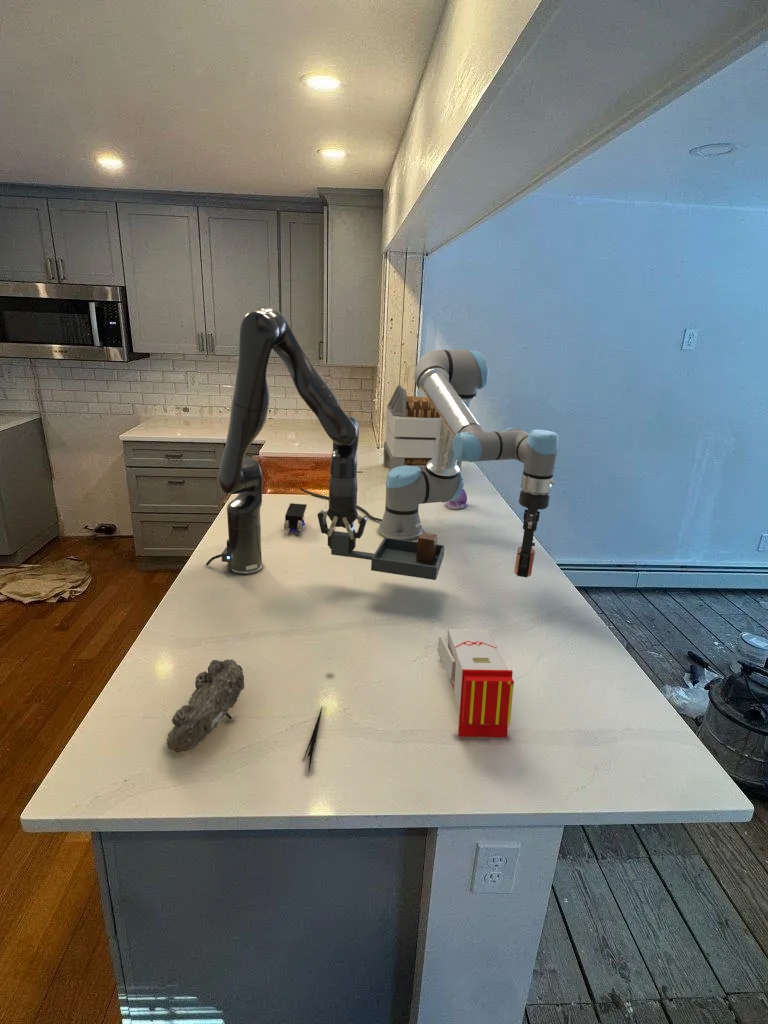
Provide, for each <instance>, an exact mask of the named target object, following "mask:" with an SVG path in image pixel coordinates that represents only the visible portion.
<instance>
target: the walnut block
mask: <svg viewBox="0 0 768 1024" xmlns="http://www.w3.org/2000/svg"><path fill="white" fill-rule="evenodd" d="M417 542H418V543H417V556H416V561H418V562H424V563H430V564H432V563H433V561H434V559H435V557H436V546H437V544H438V534H437V533H431V532H424V531H422V532H421V534H420V535H419V537H418V538H417Z"/></svg>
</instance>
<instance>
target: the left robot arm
mask: <svg viewBox="0 0 768 1024" xmlns="http://www.w3.org/2000/svg"><path fill="white" fill-rule="evenodd" d="M294 334H295V333H294V332H293V331H292V328H291V327H290V325H289V324H288V321H287V320H286V318H285V316H283V314H282V313H281V312H280V311H279V310H278V309H276V308H274V307H272V306H262V307H259V308H257V309H254V310H251V311H249V312H248V313H247V314H245V316H244V317H243V318H242V320H241V323H240V327H239V344H238V365H237V371H236V376H235V383H234V389H233V395H232V401H231V408H230V415H229V423H228V429H227V435H226V442H225V444H224V445H225V446H224V449H223V453H222V455H221V456H222V457H221V461H220V464H219V470H218V483H219V486H220V488H221V490H222V492H224V493H225V494H228V495H237V496H236V497H235V498H233V499H232V500H231V501H229V503H228V504H227V506H226V515H227V517H226V518H227V533H228V538H227V540H226V547H225V548H224V549H223V551H222V552H221V553H220V554H216V555H214V556H213V557H211V558H209V560H208V561H207V562H206V563H205V566H209V565H210V564H211V563H212V562H213V561H215V560H216V559H218V558H221V562H222V563H227V571H228V572H232V573H234V574H238V575H250V574H255V573H257V572H259V571H261V570H262V568H263V558H262V531H261V530H262V529H261V528H262V527H261V507H262V505H263V471H262V468H261V465H260V463H259V462H258V460H257V459H255V458H253V457H245V456H246V454H247V451H248V450H249V449H250V446H251V445H252V443H253V442H254V441H255V440H256V439H257V437H258V435H259V434H260V433H261V431H262V430H263V428H264V427H265V425H266V421H267V417H268V412H269V405H270V390H269V386H268V380H267V370H268V366H269V365H268V364H269V361H270V356H271V352H272V351H273V352H275V354H277V356H278V357H279V358H280V359H281V361H282V362H283V364H284V366H285V368H286V370H287V372H288V373H289V376H290V378H291V381H292V383H293V385H294V387H295V389H296V391H297V393H298V395H299V397H300V398H301V399H302V401H304V403H305V405H307V407H308V408H309V409H310V410H311V412H312V413H313V414H314V415H315V417H316V418H317V419H318V421H319V423H320V425H321V427H322V428H323V430H324V431H325V433H326V435H327V436H328V438H330V440H331V441H332V453H331V457H330V463H329V465H330V466H329V467H330V469H329V470H330V472H329V480H328V481H329V482H328V497H329V499H328V508H327V510H323V509H322V510H320V511H319V512H318V513H317V519H318V524H319V529H320V533H321V534H325V535H326V536H327V546H328V547H329V549H330V550H331V540H332V534H333V533H334V531H336V529H337V528H343V529H345V530H346V533H349V536H350V539H349V551H350V552H352V551H355V548H356V546H357V545H356V544H357V543H356V542H357V539H361V538H362V536H363V535H364V532H365V528H366V525H367V522H368V516H367V515H364V516H362V515H359V513H358V510H357V509H358V508H357V506H358V503H357V502H358V491H359V489H358V475H357V474H358V455H357V454H358V446H359V437H360V425H359V422H358V421H357V419H356V418H355V417H354V416H352V415H351V414H346V413H345V412H344V410H343V409H342V407H341V406H340V404H339V400H338V398H337V397H336V395H335V393H333V391H332V390H331V388H330V387H329V385H327V383H326V382H325V380H324V379H323V378H322V376H321V375H320V374H319V372H318V371H317V370H316V368H315V367H314V365H313V363H311V361H310V359H309V358H308V357H307V355H306V353H305V351H304V349H303V348H302V347H301V345H300V343H299V341H298V339H297V338H296V336H295V335H294ZM327 518H329V520H330V521H331V523H330V525H329V527H328V522H327ZM356 520H357V524H358V530H357V531H356V526H355V523H354V522H355V521H356Z"/></svg>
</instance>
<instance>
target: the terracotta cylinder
mask: <svg viewBox="0 0 768 1024" xmlns="http://www.w3.org/2000/svg"><path fill="white" fill-rule="evenodd" d="M521 549H522V545H521V546H518V547H517V548H516V557H515V561H514V562H515V563H514V570H513V573H514V574H515V575H516V576H517V573H518V566H519V559H520V555H519V554H518V552H521ZM535 554H536V550H535V548H533V547H532V548H531V557H530V564H529V570H528V577H527V578H529V577H531V576H532V574H533V568H534V567H533V566H534V560H535Z"/></svg>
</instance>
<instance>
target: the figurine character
mask: <svg viewBox="0 0 768 1024" xmlns="http://www.w3.org/2000/svg"><path fill="white" fill-rule="evenodd" d="M307 506H308V505H307V504H306V503H294V502H293V503H292V502H291V503H289V505H288V508H287V510H286V512H285V515H284V524H283V530H284V531H288V532H287V534H288V535H289V536H290V535H291V533H292V532H296V535H297V536H298V535H300V531H302V530H303V527H304V526H305V525H306V522H305V512H306V510H307Z"/></svg>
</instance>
